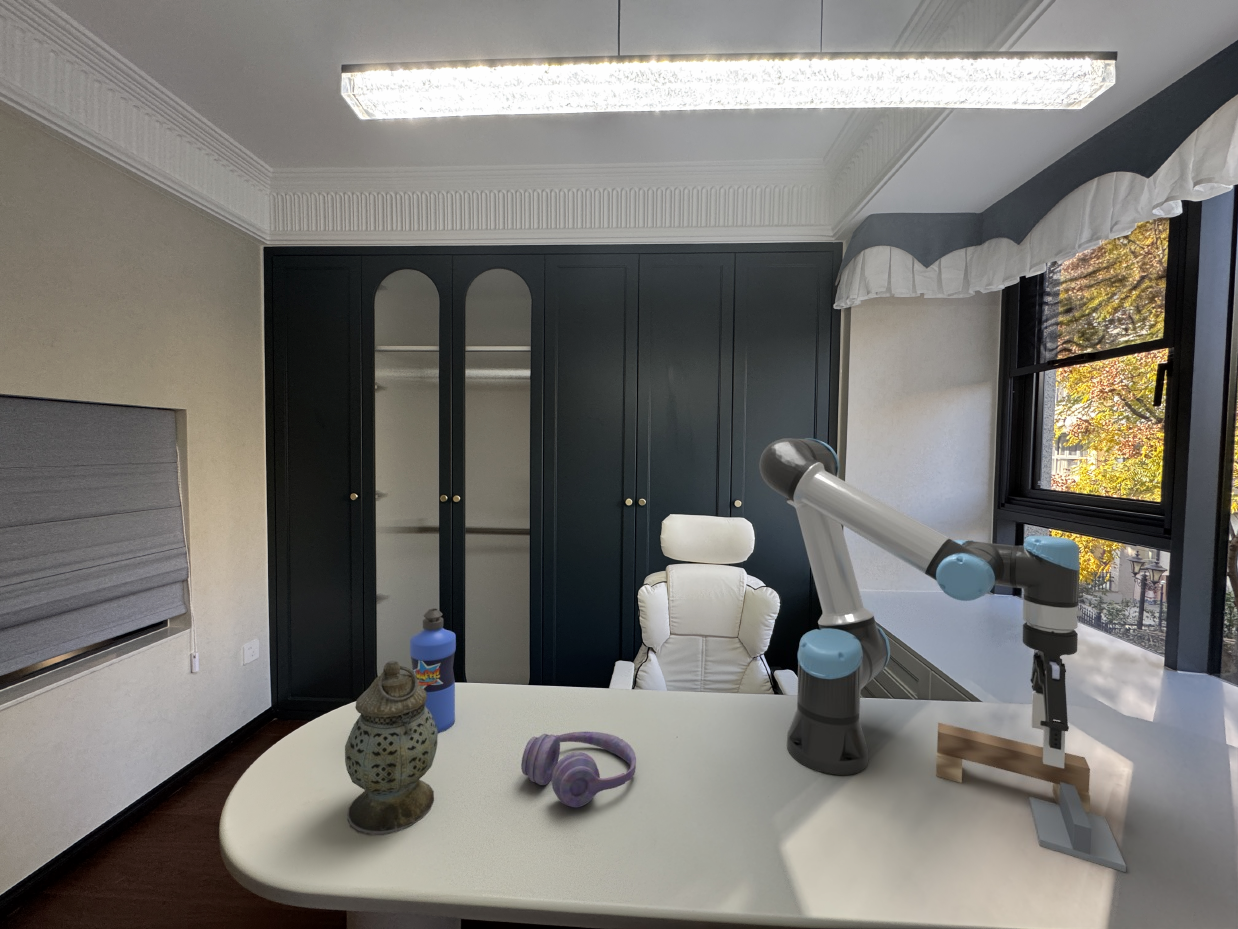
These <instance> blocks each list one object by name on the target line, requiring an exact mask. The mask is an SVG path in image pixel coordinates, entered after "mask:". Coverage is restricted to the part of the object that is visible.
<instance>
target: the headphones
mask: <svg viewBox="0 0 1238 929" xmlns="http://www.w3.org/2000/svg"><path fill="white" fill-rule="evenodd" d="M569 742H570V743H582V744H587V745H591V746H595V747H598V748H601V749H603V750H605V751H607V752H609V753H612V754H614V755H617V757H619V758H621V759H623V760H624V761H626V762H627V763H628V764H629V765H630V768H629V769H628V771H627V772H626V773H625V772H622V773H619V774H617V775H614V776H610V777H602V778H601V774H600V771H599V768H598V765H597V763H596V760H594V758H593V757H592V756H591V755H589V754H588V753H585V752H582V751H573V752H570V753H568V754H566V755H564V756H563V757H562V758H560V754H561V743H569ZM559 759H560V760H559ZM520 766H521V767H520V768H521V772H522V775H524V776H527V777H528V779H529V781H531V782H532V783H536V784H538V785H539V786H545V785H548V784H549V783H550V782H551V787H552V790H553V793H554V795H555V796H556V797H557V799H558V800H559V802H561V803H562V804H564V805H565V806H568V807H571V808H580V807H583V806H585V805H587V804H588V803H590V801H591V800H592V799H593V798H594V797H595V796H596V795H597V794H598V793H600V792H603V791H607V790H611V789H616V788H618V787H621V786H623V785H625V784H626V783H627V782H628V781H630V780H631V779H633V777H634V776H635V774H636V766H637V756H636V753H635V751H634V749H633V747H632V746H631V745H630V744H629V743H628V742H627V741H626V740H624V739H622V738H620V737H619V736H617V735H614V734H611V733H605V732H599V731H574V732H573V731H572V732H569V733H562V734H560V735H559V734H556V735H555V734H549V733H548V734H547V733H542V734H541V735H539V736H538V737H537V736H533V737H531V738H530V739H529V740H528V742H527V744H526V745H525V748H524V750H523V754H522V758H521V765H520Z"/></svg>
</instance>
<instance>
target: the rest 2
mask: <svg viewBox="0 0 1238 929" xmlns="http://www.w3.org/2000/svg"><path fill="white" fill-rule="evenodd" d="M1059 790H1060V785H1059V784H1055V783H1052V791H1051V792H1052V795H1053V798H1054V800H1055V804H1058V805H1059ZM1076 790H1077V792H1078V795H1079V797H1080V800H1081V803H1082V805H1083V808H1084V810H1085V812H1087V813H1090V807H1091V794H1090V791H1089V792H1086V791H1082V790H1078V789H1076Z"/></svg>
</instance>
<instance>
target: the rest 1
mask: <svg viewBox="0 0 1238 929" xmlns="http://www.w3.org/2000/svg"><path fill="white" fill-rule="evenodd" d="M935 771H936V772H935V773H936V775H935V776H936V777H939V778H943V779H946V780H950V781H952V782H956V783H959V784H962V781H963V780H962V779H963V778H962V777H963V759H960V758H956V757H953V756H949V755H945V754H941V753H937V752H936V770H935Z"/></svg>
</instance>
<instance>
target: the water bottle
mask: <svg viewBox="0 0 1238 929" xmlns="http://www.w3.org/2000/svg"><path fill="white" fill-rule="evenodd" d="M442 616H443V613H442V612H441V611H440V610H439V609H438V608H430V609H428V610H427V611H426V612H425V613H424V614H423V618H424V619H423V620H422V630H421V631H420V632H418V633H416V634H414V635H412V636H411V637H410V638H409V656H410V659H411V668H412V669H411V670H412V671H413V673H414V674H415V675H416V677H417V681H418V684H419V685H420V686H421V687H422V688H423V689H424V690H425V691H426V692H427V700H426V702H425V706H426V708H427V709H428V710H429V711H430V713H431V715H432V717H433V719H434V722H435V724H436V727H437V730H438V732H437V734H439V733H440V734H441V733H443V732H445V731H447V730H449V729H451V728H452V726H454V724H455V722H456V721H455V720H456V706H455V705H456V682H455V681H456V680H455V675H454V668H453V667H454V659H455V652H456V646H457V642H456V641H457V640H456V639H457V638H456V637H457V636H456V633H455V632H453V631H452V630H447V629H445V628H444V618H443V617H442Z"/></svg>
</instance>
